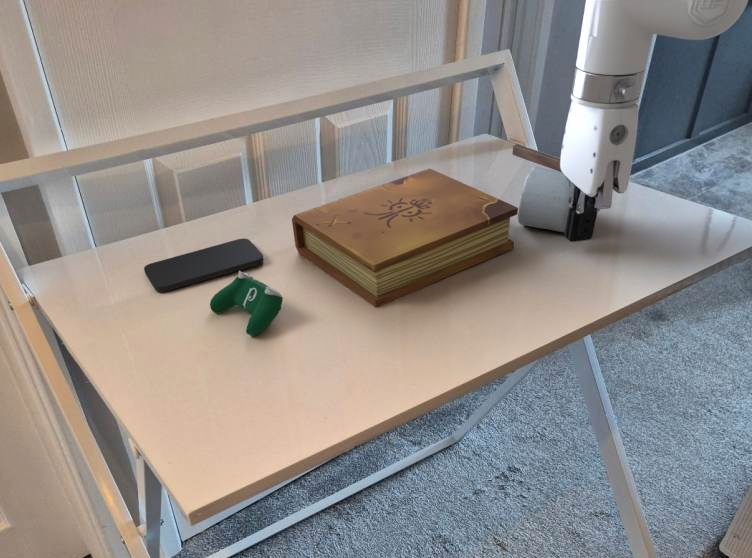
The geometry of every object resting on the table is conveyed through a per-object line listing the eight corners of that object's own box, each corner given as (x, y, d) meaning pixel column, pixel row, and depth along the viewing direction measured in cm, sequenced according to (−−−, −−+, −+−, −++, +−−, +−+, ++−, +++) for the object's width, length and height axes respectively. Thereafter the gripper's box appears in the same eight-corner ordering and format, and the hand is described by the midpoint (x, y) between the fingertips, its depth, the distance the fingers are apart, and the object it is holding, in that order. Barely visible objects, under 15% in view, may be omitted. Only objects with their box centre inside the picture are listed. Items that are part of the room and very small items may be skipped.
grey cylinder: (573, 243, 92) (583, 186, 86) (514, 233, 94) (520, 177, 89) (591, 213, 98) (602, 158, 93) (536, 204, 101) (543, 151, 96)
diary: (426, 205, 103) (426, 166, 99) (513, 249, 91) (518, 207, 87) (295, 252, 93) (290, 211, 90) (375, 307, 82) (373, 263, 78)
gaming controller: (270, 346, 80) (294, 300, 79) (248, 335, 77) (273, 288, 76) (226, 317, 85) (248, 274, 84) (204, 306, 82) (226, 262, 81)
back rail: (581, 175, 108) (582, 166, 107) (576, 177, 108) (578, 167, 107) (516, 152, 117) (517, 143, 116) (512, 154, 116) (513, 145, 115)
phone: (141, 265, 91) (246, 236, 95) (143, 271, 91) (247, 242, 96) (156, 289, 86) (265, 257, 91) (157, 295, 87) (266, 263, 91)
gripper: (672, 101, 72) (631, 260, 85) (607, 64, 83) (580, 211, 95) (605, 108, 71) (574, 268, 84) (549, 70, 82) (529, 218, 94)
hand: (578, 237), depth 89 cm, fingers closed
